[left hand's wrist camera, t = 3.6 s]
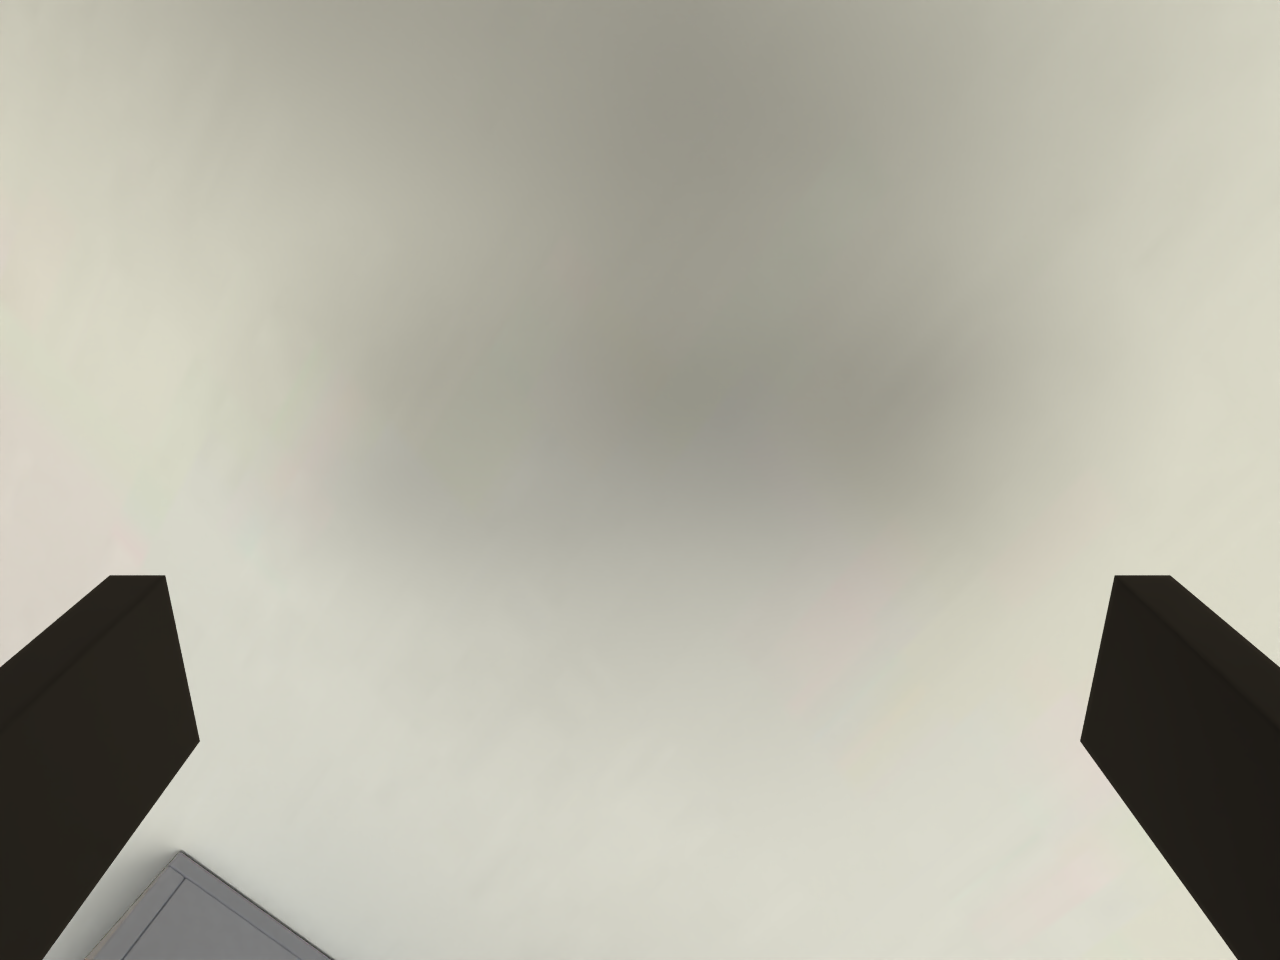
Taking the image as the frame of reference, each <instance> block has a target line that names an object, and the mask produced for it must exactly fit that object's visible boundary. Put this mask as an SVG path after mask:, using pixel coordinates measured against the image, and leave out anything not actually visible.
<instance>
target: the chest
mask: <svg viewBox="0 0 1280 960" xmlns="http://www.w3.org/2000/svg"><path fill="white" fill-rule="evenodd" d="M84 960H331V959H330V958H328V957H327V956H325V955H324V954H323V953H321V952H320V951H318V950H317V949H316V948H314V947H313V946H311V945H310V944H309V943H307V942H306V941H304V940H303V939H302V938H300V937H299V936H297V935H296V934H295V933H293V932H292V931H290V930H289V929H288V928H286V927H285V926H284V925H282V924H281V923H279V922H278V921H277V920H275V919H274V918H272V917H271V916H270V915H268V914H267V913H265V912H264V911H263V910H261V909H260V908H258V907H257V906H256V905H254V904H253V903H251V902H250V901H249V900H247V899H246V898H244V897H243V896H242V895H240V894H239V893H238V892H236V891H235V890H233V889H232V888H231V887H229V886H228V885H226V884H225V883H224V882H222V881H221V880H219V879H218V878H217V877H215V876H214V875H212V874H211V873H210V872H208V871H207V870H205V869H204V868H203V867H201V866H200V865H198V864H197V863H196V862H194V861H193V860H192V859H190V858H189V857H187V856H186V855H185V854H183V853H182V852H179V853H178V854H177V855H176V856H175V857H174V858H173V859H172V860H171V862H170V863H169V864H168V865H167V866H166V867H165V868H164V870H163V871H162V872H161V873H160V874H159V875H158V876H157V878H156V879H155V880H154V881H153V882H152V883H151V884H150V885H149V887H148V888H147V889H146V890H145V891H144V892H143V893H142V895H141V896H140V897H139V898H138V899H137V900H136V901H135V902H134V904H133V905H132V906H131V907H130V908H129V909H128V910H127V912H126V913H125V914H124V915H123V916H122V917H121V918H120V919H119V921H118V922H117V923H116V924H115V925H114V926H113V927H112V929H111V930H110V931H109V932H108V933H107V934H106V935H105V937H104V938H103V939H102V940H101V941H100V942H99V943H98V944H97V946H96V947H95V948H94V949H93V950H92V951H91V952H90V954H89V955H88V956H87V957H86V958H85V959H84Z"/></svg>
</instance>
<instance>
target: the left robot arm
mask: <svg viewBox="0 0 1280 960" xmlns="http://www.w3.org/2000/svg"><path fill="white" fill-rule="evenodd" d="M199 742H200V740H199V735H198V730H197V725H196V721H195V716H194V711H193V706H192V701H191V697H190V692H189V687H188V682H187V677H186V673H185V668H184V663H183V658H182V654H181V649H180V644H179V639H178V634H177V630H176V625H175V620H174V615H173V610H172V606H171V601H170V596H169V591H168V586H167V582H166V577H165V575H110V576H109V577H107V578H106V579H105V580H104V581H103V582H101V583H100V584H99V585H98V586H97V587H95V588H94V589H93V590H92V591H91V592H90V593H88V594H87V595H86V596H85V597H84V598H82V599H81V600H80V601H79V602H78V603H76V604H75V605H74V606H73V607H72V608H70V609H69V610H68V611H67V612H66V613H64V614H63V615H62V616H61V617H60V618H59V619H57V620H56V621H55V622H54V623H53V624H51V625H50V626H49V627H48V628H47V629H45V630H44V631H43V632H42V633H41V634H39V635H38V636H37V637H36V638H35V639H33V640H32V641H31V642H30V643H29V644H28V645H26V646H25V647H24V648H23V649H22V650H20V651H19V652H18V653H17V654H16V655H14V656H13V657H12V658H11V659H10V660H8V661H7V662H6V663H5V664H4V665H2V666H1V667H0V960H42V959H43V958H44V957H45V955H46V954H47V952H48V951H49V950H50V948H51V947H52V945H53V944H54V943H55V941H56V940H57V938H58V937H59V936H60V934H61V933H62V932H63V930H64V929H65V927H66V926H67V925H68V923H69V922H70V920H71V919H72V918H73V916H74V915H75V914H76V912H77V911H78V909H79V908H80V907H81V905H82V904H83V902H84V901H85V900H86V898H87V897H88V895H89V894H90V893H91V891H92V890H93V889H94V887H95V886H96V884H97V883H98V882H99V880H100V879H101V877H102V876H103V875H104V873H105V872H106V871H107V869H108V868H109V866H110V865H111V864H112V862H113V861H114V859H115V858H116V857H117V855H118V854H119V853H120V851H121V850H122V848H123V847H124V846H125V844H126V843H127V841H128V840H129V839H130V837H131V836H132V834H133V833H134V832H135V830H136V829H137V828H138V826H139V825H140V823H141V822H142V821H143V819H144V818H145V816H146V815H147V814H148V812H149V811H150V810H151V808H152V807H153V805H154V804H155V803H156V801H157V800H158V798H159V797H160V796H161V794H162V793H163V791H164V790H165V789H166V787H167V786H168V785H169V783H170V782H171V780H172V779H173V778H174V776H175V775H176V773H177V772H178V771H179V769H180V768H181V767H182V765H183V764H184V762H185V761H186V760H187V758H188V757H189V755H190V754H191V753H192V751H193V750H194V749H195V747H196V746H197V744H198V743H199ZM1080 742H1081V743H1082V744H1083V746H1084V747H1085V749H1086V750H1087V751H1088V753H1089V754H1090V755H1091V757H1092V758H1093V760H1094V761H1095V762H1096V764H1097V765H1098V767H1099V768H1100V769H1101V771H1102V772H1103V773H1104V775H1105V776H1106V778H1107V779H1108V780H1109V782H1110V783H1111V785H1112V786H1113V787H1114V789H1115V790H1116V792H1117V793H1118V794H1119V796H1120V797H1121V798H1122V800H1123V801H1124V803H1125V804H1126V805H1127V807H1128V808H1129V810H1130V811H1131V812H1132V814H1133V815H1134V816H1135V818H1136V819H1137V821H1138V822H1139V823H1140V825H1141V826H1142V828H1143V829H1144V830H1145V832H1146V833H1147V834H1148V836H1149V837H1150V839H1151V840H1152V841H1153V843H1154V844H1155V846H1156V847H1157V848H1158V850H1159V851H1160V853H1161V854H1162V855H1163V857H1164V858H1165V859H1166V861H1167V862H1168V864H1169V865H1170V866H1171V868H1172V869H1173V871H1174V872H1175V873H1176V875H1177V876H1178V877H1179V879H1180V880H1181V882H1182V883H1183V884H1184V886H1185V887H1186V889H1187V890H1188V891H1189V893H1190V894H1191V896H1192V897H1193V898H1194V900H1195V901H1196V902H1197V904H1198V905H1199V907H1200V908H1201V909H1202V911H1203V912H1204V914H1205V915H1206V916H1207V918H1208V919H1209V920H1210V922H1211V923H1212V925H1213V926H1214V927H1215V929H1216V930H1217V932H1218V933H1219V934H1220V936H1221V937H1222V938H1223V940H1224V941H1225V943H1226V944H1227V945H1228V947H1229V948H1230V950H1231V951H1232V952H1233V954H1234V955H1235V957H1236V958H1237V959H1238V960H1280V667H1279V666H1278V665H1276V664H1275V663H1274V662H1273V661H1272V660H1270V659H1269V658H1268V657H1267V656H1266V655H1264V654H1263V653H1262V652H1261V651H1260V650H1258V649H1257V648H1256V647H1255V646H1254V645H1252V644H1251V643H1250V642H1249V641H1248V640H1247V639H1245V638H1244V637H1243V636H1242V635H1241V634H1239V633H1238V632H1237V631H1236V630H1235V629H1233V628H1232V627H1231V626H1230V625H1229V624H1227V623H1226V622H1225V621H1224V620H1223V619H1221V618H1220V617H1219V616H1218V615H1217V614H1216V613H1214V612H1213V611H1212V610H1211V609H1210V608H1208V607H1207V606H1206V605H1205V604H1204V603H1202V602H1201V601H1200V600H1199V599H1198V598H1196V597H1195V596H1194V595H1193V594H1192V593H1190V592H1189V591H1188V590H1187V589H1186V588H1185V587H1183V586H1182V585H1181V584H1180V583H1179V582H1177V581H1176V580H1175V579H1174V578H1173V577H1171V576H1170V575H1115V577H1114V582H1113V586H1112V591H1111V596H1110V601H1109V606H1108V610H1107V615H1106V620H1105V625H1104V630H1103V634H1102V639H1101V644H1100V649H1099V653H1098V658H1097V663H1096V668H1095V673H1094V677H1093V682H1092V687H1091V692H1090V697H1089V701H1088V706H1087V711H1086V716H1085V721H1084V725H1083V730H1082V735H1081V740H1080Z"/></svg>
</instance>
